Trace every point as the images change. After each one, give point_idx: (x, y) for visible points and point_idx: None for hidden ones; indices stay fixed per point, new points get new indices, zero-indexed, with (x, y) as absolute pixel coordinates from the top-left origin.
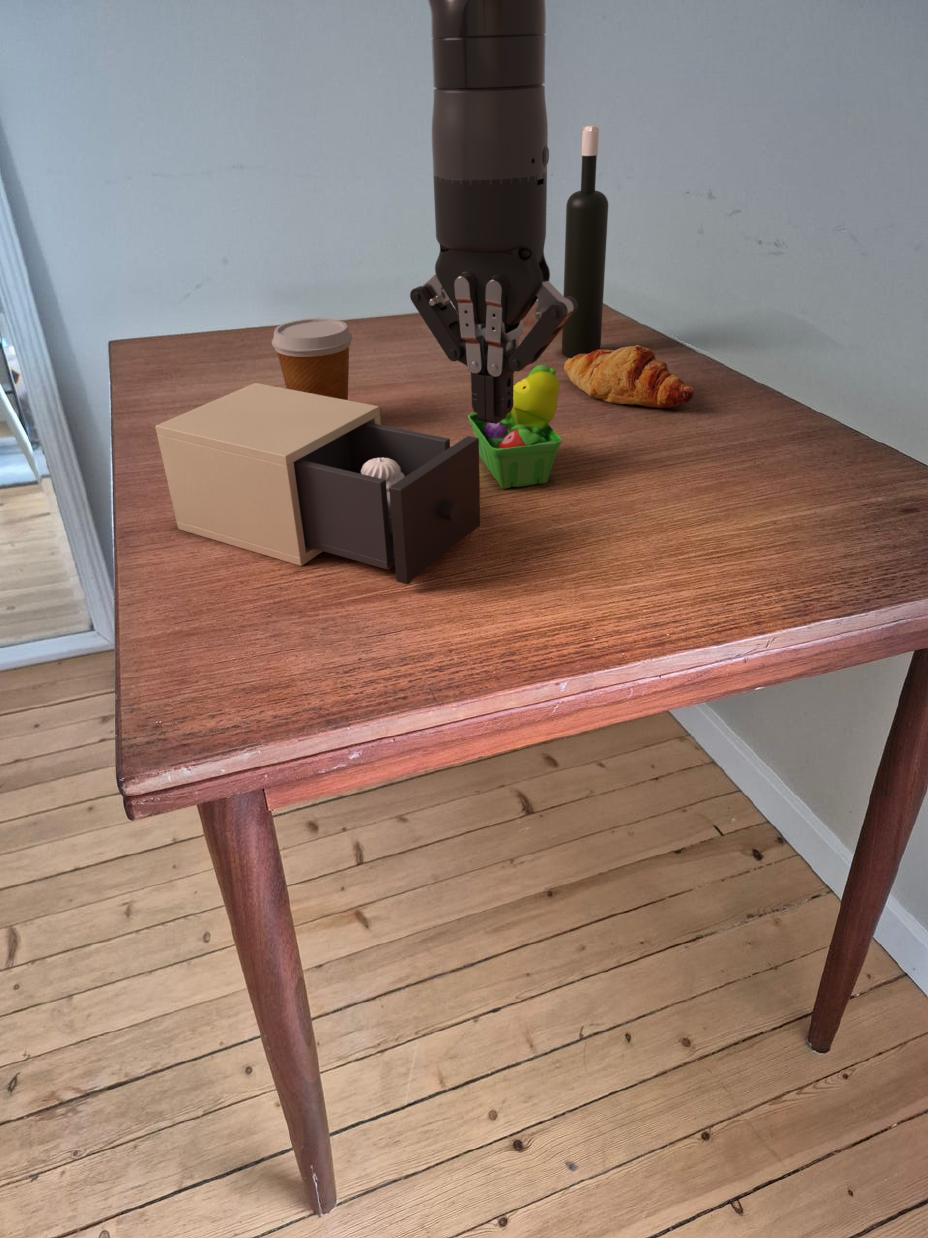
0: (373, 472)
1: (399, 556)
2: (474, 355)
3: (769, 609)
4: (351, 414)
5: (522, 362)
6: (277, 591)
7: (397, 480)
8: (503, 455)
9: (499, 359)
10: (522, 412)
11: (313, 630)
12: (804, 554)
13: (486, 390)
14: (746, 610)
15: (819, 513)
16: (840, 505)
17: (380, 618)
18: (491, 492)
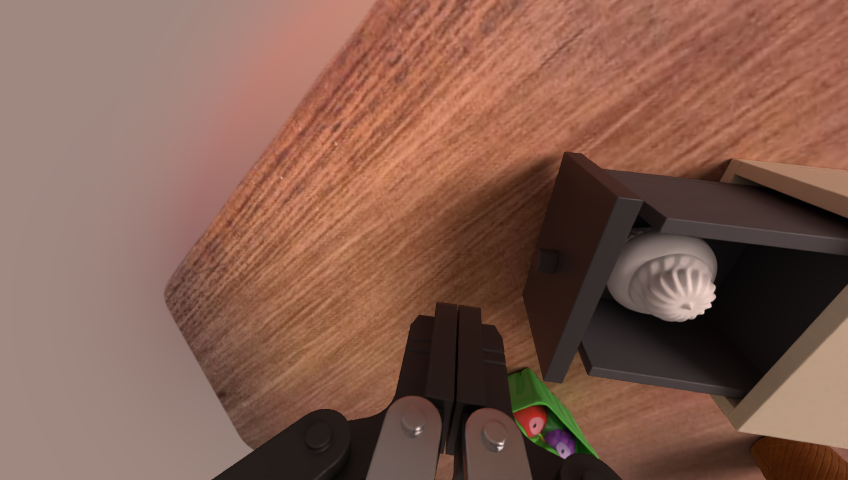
0: (690, 279)
1: (585, 162)
2: (494, 473)
3: (232, 245)
4: (787, 402)
5: (291, 439)
6: (754, 85)
7: (641, 284)
8: (531, 397)
9: (385, 453)
10: None
11: (666, 10)
12: (250, 327)
13: (452, 362)
14: (246, 238)
15: (268, 380)
16: (261, 393)
17: (578, 82)
18: (537, 360)
